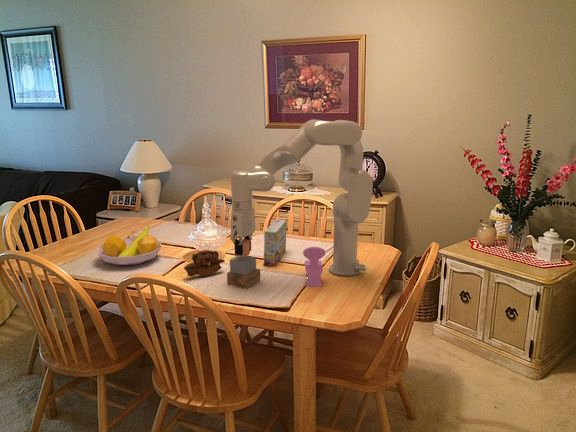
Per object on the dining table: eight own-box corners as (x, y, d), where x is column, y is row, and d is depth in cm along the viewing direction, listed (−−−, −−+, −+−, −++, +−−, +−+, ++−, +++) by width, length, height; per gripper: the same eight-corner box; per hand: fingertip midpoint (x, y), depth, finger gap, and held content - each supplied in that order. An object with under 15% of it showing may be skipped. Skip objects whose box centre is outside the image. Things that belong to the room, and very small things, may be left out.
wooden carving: (188, 281, 181) (187, 257, 179) (183, 278, 185) (182, 253, 182) (227, 272, 191) (226, 249, 188) (221, 269, 194) (220, 246, 192)
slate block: (256, 269, 181) (256, 257, 180) (245, 275, 175) (245, 262, 174) (240, 266, 184) (240, 254, 183) (230, 272, 178) (229, 259, 177)
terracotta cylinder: (252, 252, 179) (252, 240, 178) (244, 256, 175) (244, 243, 173) (241, 250, 181) (240, 238, 180) (233, 254, 177) (233, 241, 176)
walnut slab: (260, 281, 183) (260, 269, 181) (247, 289, 175) (247, 277, 174) (240, 277, 187) (240, 265, 185) (227, 285, 179) (226, 272, 178)
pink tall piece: (323, 277, 186) (323, 241, 182) (325, 286, 177) (326, 248, 174) (301, 278, 186) (302, 241, 182) (302, 286, 177) (303, 248, 173)
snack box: (276, 267, 197) (276, 232, 193) (263, 266, 198) (263, 231, 195) (286, 251, 217) (287, 218, 214) (274, 250, 218) (274, 218, 215)
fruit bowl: (127, 275, 187) (124, 248, 184) (84, 262, 201) (81, 236, 198) (179, 256, 210) (177, 231, 207) (137, 245, 224) (135, 222, 221)
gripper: (237, 211, 164) (238, 261, 169) (263, 201, 179) (263, 247, 183) (219, 208, 168) (221, 257, 172) (246, 199, 182) (246, 244, 187)
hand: (243, 252), depth 178 cm, fingers closed on terracotta cylinder, 4 cm apart
